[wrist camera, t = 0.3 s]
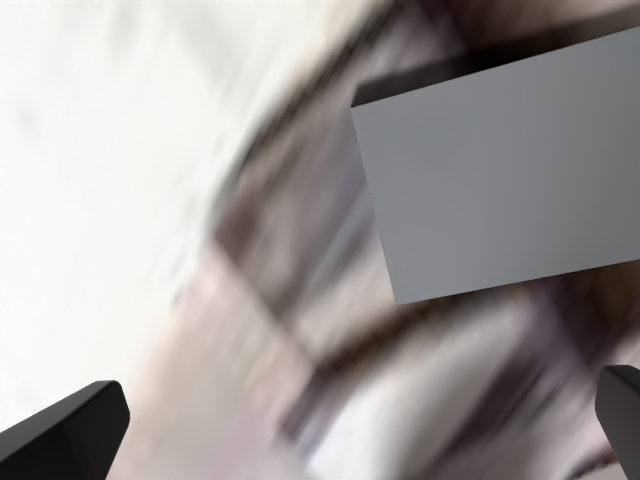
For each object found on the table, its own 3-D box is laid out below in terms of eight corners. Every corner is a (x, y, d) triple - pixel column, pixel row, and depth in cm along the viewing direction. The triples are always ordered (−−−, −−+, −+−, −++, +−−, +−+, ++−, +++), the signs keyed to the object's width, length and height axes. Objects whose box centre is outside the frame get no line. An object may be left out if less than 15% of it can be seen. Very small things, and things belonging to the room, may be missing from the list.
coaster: (636, 246, 20) (653, 256, 19) (394, 293, 22) (396, 305, 21) (633, 27, 17) (653, 23, 15) (350, 107, 19) (349, 108, 18)
